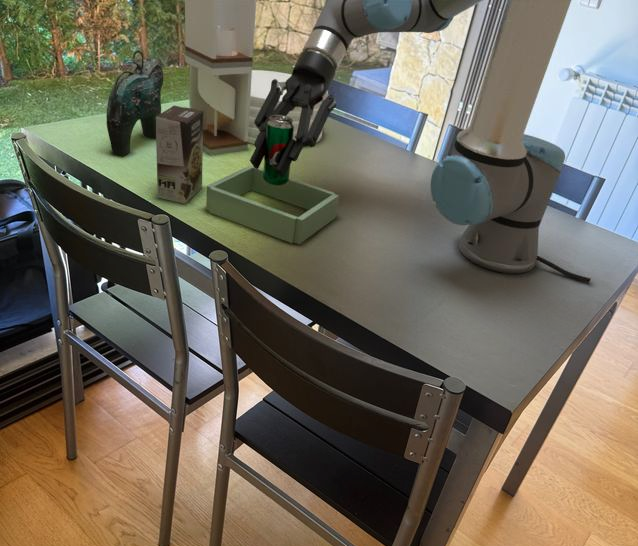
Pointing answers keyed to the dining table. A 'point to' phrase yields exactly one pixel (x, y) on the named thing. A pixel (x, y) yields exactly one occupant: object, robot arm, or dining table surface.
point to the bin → (265, 219)
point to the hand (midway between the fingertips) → (266, 168)
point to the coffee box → (179, 153)
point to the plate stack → (258, 96)
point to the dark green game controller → (134, 104)
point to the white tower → (221, 69)
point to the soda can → (276, 147)
